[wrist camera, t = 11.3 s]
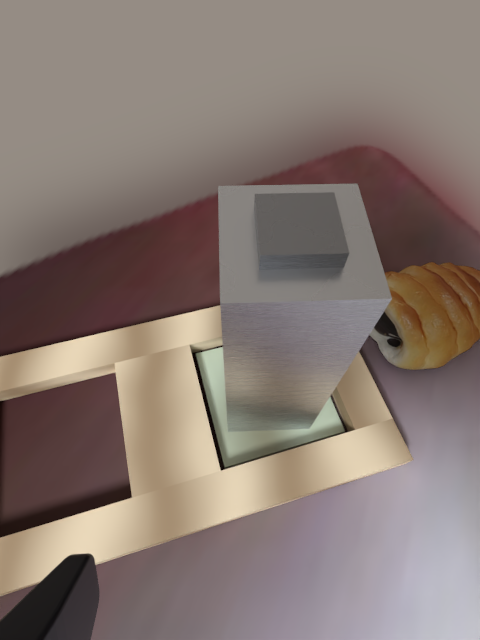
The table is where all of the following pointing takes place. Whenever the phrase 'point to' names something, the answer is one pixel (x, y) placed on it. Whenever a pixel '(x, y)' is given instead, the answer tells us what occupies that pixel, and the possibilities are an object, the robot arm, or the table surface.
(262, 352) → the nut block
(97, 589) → the robot arm
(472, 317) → the pastry
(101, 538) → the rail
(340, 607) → the table surface
